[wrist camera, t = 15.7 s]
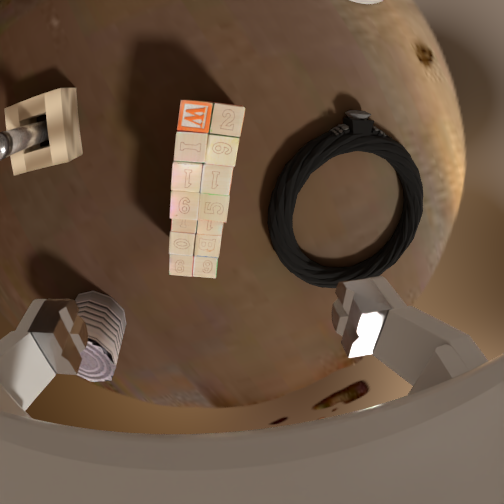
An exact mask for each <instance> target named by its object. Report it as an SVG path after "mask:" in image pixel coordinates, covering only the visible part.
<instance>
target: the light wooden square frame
mask: <svg viewBox="0 0 504 504" xmlns="http://www.w3.org/2000/svg"><path fill="white" fill-rule="evenodd" d="M44 114H46V119H47V128H48V137H49V145H46V146H42V147H40V143H39V144H36V145H34V146H31V147H29V148H26V149H24V150H21V151H19V152H17V153H14V154H12V155H10V157H11V162H12V168H13V173H14V175H18V174H21V173H25V172H29V171H32V170H36V169H40V168H44V167H48V166H52V165H57V164H61V163H66V162H69V161H71V160H73V159H75V158H76V157H78V156H80V155H82V154H83V152H82V144H81V137H80V128H79V119H78V108H77V94H76V88H59V89H56V90H53V91H50V92H47V93H44V94H41V95H38V96H35V97H32V98H30V99H27V100H25V101H22V102H19V103H17V104H14V105H12V106H10V107H7V108H5V119H6V129H7V131H8V130H11V129H14V128H18V127H21V126H25V125H29V124H32V123H36V122H37V117H38V116H41V115H44Z"/></svg>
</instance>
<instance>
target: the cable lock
mask: <svg viewBox="0 0 504 504" xmlns="http://www.w3.org/2000/svg"><path fill="white" fill-rule="evenodd" d="M345 114H346V115H347V116H348V117H349V118H343V122H344V124H340V125H338V126H337V127H334V128H333V129H331V130H329V132H327V133H324V134H323V135H321V136H320V137H318V138H316V139H314V140H312V141H310V142H308V143H307V144H306V145H305V146H303V147H302V148H301V149H300V150H299V152H298V153H297V154H296V155H295V156H294V158H293V159H291V160H290V161H289V162H288V163H287V164H286V165H285V167H284V169H283V171H282V172H281V174H280V176H279V178H278V180H277V183H276V186H275V188H274V190H273V192H272V196H271V200H270V204H269V210H268V227H269V232H270V237H271V241H272V244H273V247H274V250H275V251H276V253H277V255H278V257H279V259H280V261H281V262H282V263H283V264H284V265H285V267H286V268H287V269H288V270H289V271H290V272H291V273H293V274H295V275H296V276H297V277H298V278H300V279H302V280H304V281H305V282H307V283H309V284H312V285H315V286H319V287H327V288H336V287H337V285H338V283H339V282H342V281H351V280H359V279H367V278H371V277H377V276H379V275H381V274H382V273H383V272H384V271H385V270H387V269H388V268H389V267H391V266H392V265H393V264H395V263H396V262H397V260H398V259H399V258H400V256H401V255H402V254H403V252H404V251H405V250H406V249H407V247H408V246H409V245H410V243H411V242H412V240H413V239H414V236H415V233H416V230H417V227H418V225H419V222H420V219H421V216H422V212H423V186H422V182H421V179H420V174H419V170H418V168H417V167H416V165H415V163H414V162H413V160H412V158H411V156H410V154H409V153H408V152H407V150H406V149H405V148H404V147H403V146H402V145H401V144H399V143H398V142H396V141H394V140H393V139H392V138H391V137H389V136H388V135H386V134H385V133H384V132H383V131H381V130H380V129H378V128H376V127H375V126H373V123H374V121H372V120H368V119H367V118H368V117H369V116H370V115H371V114H369V113H367V112H365V111H357V110H349V111H347V112H345ZM353 151H363V152H369V153H374V154H376V155H378V156H380V157H382V158H384V159H386V160H387V161H388V162H389V163H390V164H391V165H392V167H393V168H394V169H395V170H396V171H397V173H398V175H399V178H400V180H401V183H402V186H403V191H404V206H403V213H402V217H401V220H400V223H399V225H398V227H397V229H396V231H395V233H394V235H393V236H392V238H391V239H390V241H389V242H388V243H387V244H386V245H385V246H384V247H383V248H382V249H381V250H380V251H379V252H378V253H377V254H376V255H375V256H373V257H372V258H370V259H368V260H366V261H364V262H362V263H360V264H357V265H355V266H352V267H343V268H331V267H325V266H321V265H319V264H317V263H316V262H314V261H312V260H310V259H308V258H307V257H306V256H305V255H304V254H303V253H302V251H301V250H300V248H299V246H298V244H297V241H296V239H295V236H294V233H293V228H292V216H293V212H294V207H295V203H296V199H297V194H298V193H299V191H300V190H301V188H302V187H303V185H304V184H305V182H306V181H307V179H308V178H309V176H310V174H311V173H312V172H314V171H315V170H316V169H318V168H319V167H320V166H321V165H323V164H324V163H325V162H327V161H328V160H329V159H331V158H332V157H335V156H337V155H340V154H344V153H348V152H353Z"/></svg>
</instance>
